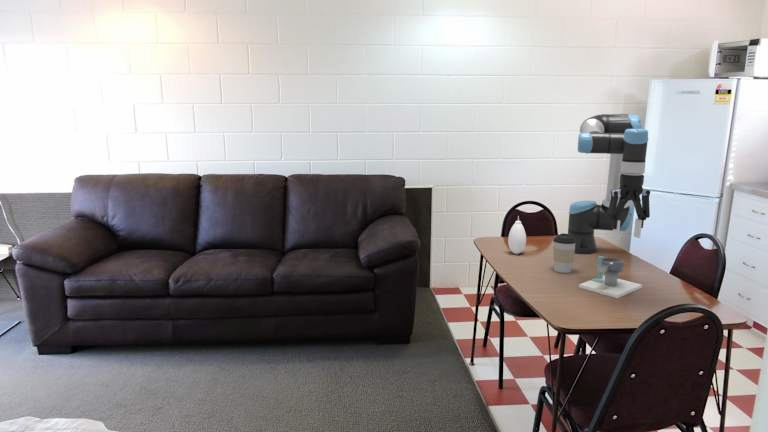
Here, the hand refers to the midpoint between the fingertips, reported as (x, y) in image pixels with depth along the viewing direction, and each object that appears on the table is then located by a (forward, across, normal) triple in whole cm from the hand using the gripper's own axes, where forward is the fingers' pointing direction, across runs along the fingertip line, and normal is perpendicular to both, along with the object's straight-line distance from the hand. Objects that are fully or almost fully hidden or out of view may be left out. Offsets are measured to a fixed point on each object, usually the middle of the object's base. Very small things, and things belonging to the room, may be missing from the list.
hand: (626, 237), depth 188 cm
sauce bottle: (+21, +17, -57) cm, 63 cm away
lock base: (+21, 0, -7) cm, 22 cm away
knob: (+14, +1, -6) cm, 15 cm away
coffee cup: (+21, +8, -30) cm, 37 cm away
